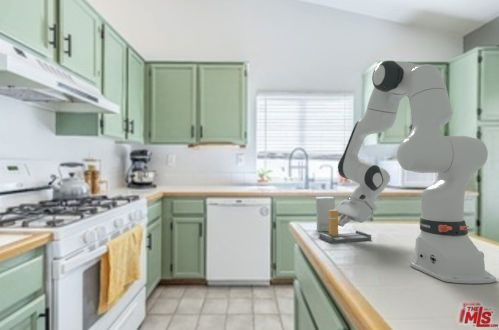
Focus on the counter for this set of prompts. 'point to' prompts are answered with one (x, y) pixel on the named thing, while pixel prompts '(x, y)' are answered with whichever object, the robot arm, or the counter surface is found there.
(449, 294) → the counter surface
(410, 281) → the counter surface
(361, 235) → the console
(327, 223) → the skincare box
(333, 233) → the tan tall block
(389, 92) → the robot arm
